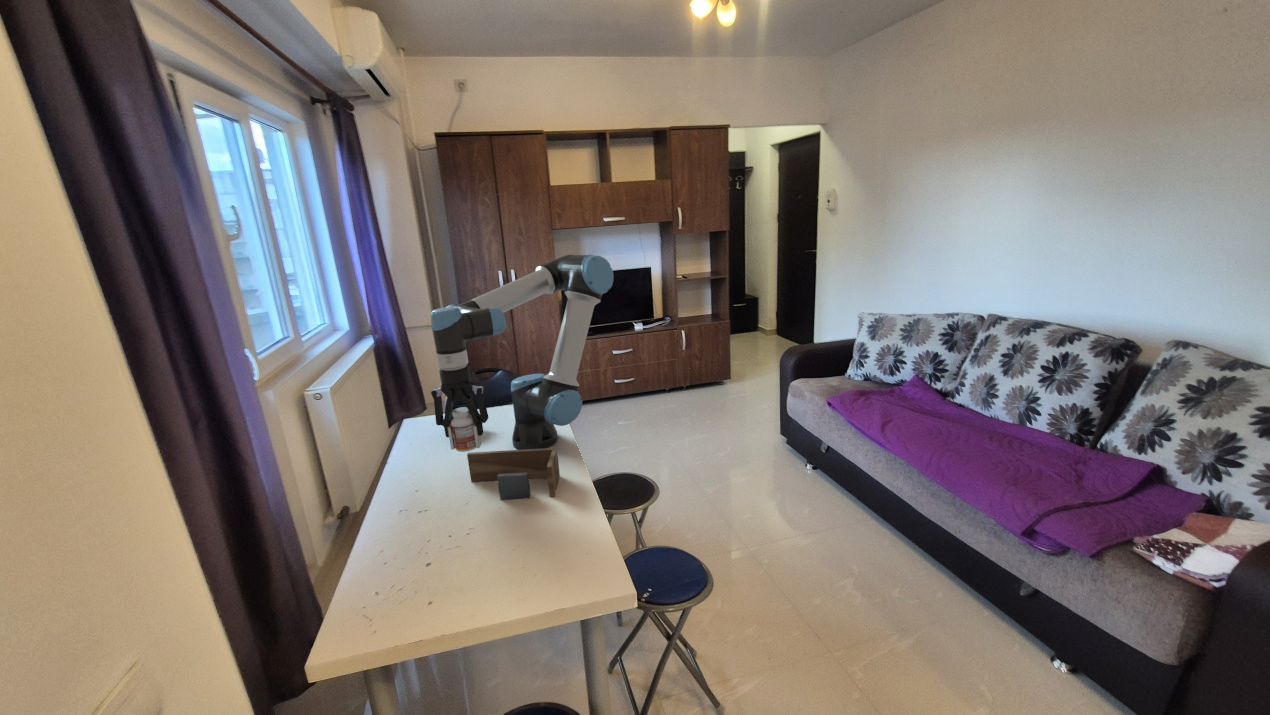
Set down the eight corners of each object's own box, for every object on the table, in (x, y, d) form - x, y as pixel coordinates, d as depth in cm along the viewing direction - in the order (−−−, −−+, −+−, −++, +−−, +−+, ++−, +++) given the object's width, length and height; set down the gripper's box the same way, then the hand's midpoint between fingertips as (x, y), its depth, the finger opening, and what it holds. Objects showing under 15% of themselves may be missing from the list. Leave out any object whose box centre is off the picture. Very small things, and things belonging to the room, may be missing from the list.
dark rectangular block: (501, 496, 143) (498, 473, 141) (530, 495, 142) (527, 472, 141) (500, 499, 141) (497, 476, 139) (529, 498, 141) (526, 475, 139)
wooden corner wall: (472, 480, 152) (468, 452, 150) (560, 475, 152) (557, 447, 150) (460, 501, 141) (455, 471, 139) (554, 496, 141) (551, 466, 139)
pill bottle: (459, 443, 147) (453, 406, 144) (481, 442, 146) (475, 405, 143) (451, 453, 141) (445, 414, 138) (474, 452, 140) (468, 413, 137)
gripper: (411, 372, 134) (426, 454, 140) (486, 368, 133) (497, 450, 140) (423, 364, 141) (437, 442, 147) (493, 360, 141) (504, 439, 147)
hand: (466, 446), depth 143 cm, fingers closed on pill bottle, 6 cm apart
